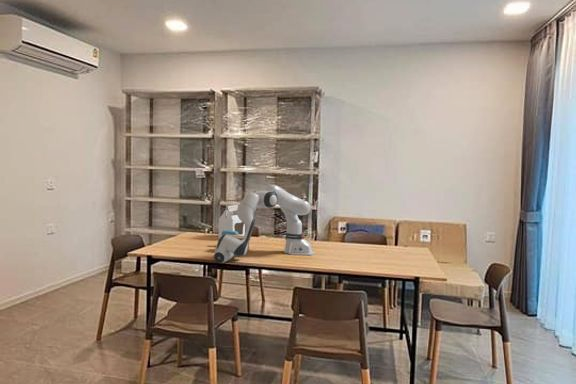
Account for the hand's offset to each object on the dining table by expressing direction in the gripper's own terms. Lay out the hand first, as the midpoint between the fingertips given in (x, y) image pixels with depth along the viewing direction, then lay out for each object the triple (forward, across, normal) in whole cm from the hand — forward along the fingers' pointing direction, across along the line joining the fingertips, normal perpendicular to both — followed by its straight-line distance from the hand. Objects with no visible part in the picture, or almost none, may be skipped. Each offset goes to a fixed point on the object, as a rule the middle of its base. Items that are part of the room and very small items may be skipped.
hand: (234, 248), depth 295 cm
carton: (+17, +5, +6) cm, 19 cm away
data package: (+32, +14, +6) cm, 36 cm away
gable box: (+67, +24, +6) cm, 72 cm away
